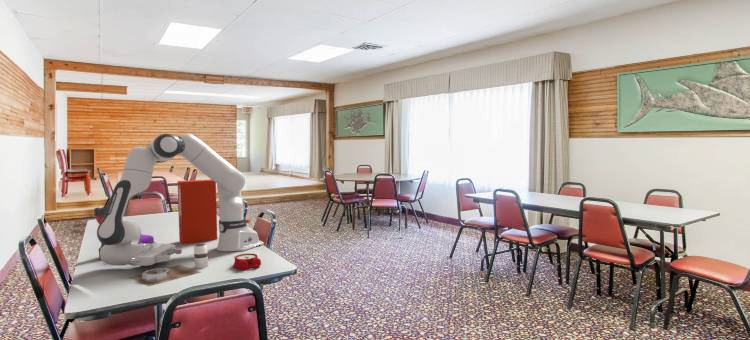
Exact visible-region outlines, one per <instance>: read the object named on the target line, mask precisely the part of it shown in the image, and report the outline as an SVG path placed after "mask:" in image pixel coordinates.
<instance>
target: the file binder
mask: <svg viewBox="0 0 750 340" xmlns="http://www.w3.org/2000/svg"><path fill="white" fill-rule="evenodd" d="M177 202H178V203H177V206H178V207H177V208H178V209H177V210H178V231H179V232H178V233H179V235H178V236H179V242H180V243H181V245H186V244H194V243H195V244H196V243H200V242H202V241H203V242H208V241H209V240H210V241H216V240H215V239H217V240H218V217H217V216H218V214H217V212H218V211H217V183H215V182H214V181H213V180H212V179H210V178H209V179H208V178H207V179H193V180H177Z"/></svg>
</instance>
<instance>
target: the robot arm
mask: <svg viewBox="0 0 750 340" xmlns="http://www.w3.org/2000/svg"><path fill="white" fill-rule="evenodd" d="M175 156H180V157H182V158H185V159H186V160H187V161H188V162H189V163H190V164H192V166H194V167H195V168H196V169H198V170H199V171H200V172H201V173H202V174H204V175H206V177H208V178H209V179H212V180H213V181H214V182H215V183H216V191H217V198H218V207H219V208H218V209H219V220H218V231H219V234H218V235H219V236H218V242H217V248H216V250H217V251H219V252H242V251H247V250H250V249H254V248H257V247H260V246H263V245H264V242H263V241H262V240H259V239H260V237H259V235H258V232H257V231H256V230H254V229H252V228H251V227H249V226H248V224H250V223H251V219H249V218H245V217H244V201H243V196H242V190H243V188H244V187H245V185H246V178H245V175H244V174H243V173H242V172H241V171H240V170H238V169H237V168H236V167H235V166H234V165H232V164H231V163H230V162H229V161H227V160H226V159H225V158H224V157H222V156H221V155H219V154H218V153H217V152H216V151H215V150H214V149H213V148H211V147H210V146H209V145H208V144H206V143H205V142H204V141H202V140H201V139H200V138H198V137H197V136H195V135H194V134H192V133H189V132H188V133H187V132H186V133H183V134H180V136H179V135H175V134H171V133H162V134H159V135H158V136H156V137H154V138H153V140H151V142H150V143H149V144H148V145H147V146H136V147H133V148H131V149H130V150H129V152H128V154H127V156H126V158H125V162H124V166H123V168H122V169H123V170H122V174H121V177H120V178H119V181H118V182H117V183H116V185H115V186H114V189H113V190H112V194H111V197H110V199H109V202H108V205H107V207H108V208H107V210H106V213H105V216H104V218H103V220H102V221H101V223H100V224H99V223H98V226H97V229H96V236H97V237H96V238H97V239H98V241H99V242H100V243H103V244H105V245H104V246H103V247H102V248H101V250H100V258H101V259H100V258H99V259H100V260H101V261H102V262H103V263H104V264H105V265H109V266H110V265H111V266H119V267H121V266H127V265H129V266H135V267H136V266H139V267H141V266H143V267H146V266H147V267H149V266H152V265H154V264H156V263H158V262H159V263H160V262H164V261H169V260H171V256H172V255H174V254H176V255H180V254H182V253H183V252H182V251H183V250H182V248H181V249H180V248H177V247H176V244H172V243H157V242H156V241H154V242H152V243H147V244H139V240H140V236H141V234H142V230H141V227H140V225H139V224H137V223H136V222H134V221H128V220H125V221H124V220H123V218H124V214H125V211H126V208H127V205H128V202H129V200H130V198H132V197H133V196H134V195H137V194H140V193H144V191H146V190H147V189H148V188H149V187H150V185H151V182H152V179H153V178H152V177H153V173H154V167H155V165H156V164H157V163H158V164H159V163H165V162H168V161H170V160H172V159H173V158H175ZM259 245H260V246H259ZM256 246H257V247H256Z"/></svg>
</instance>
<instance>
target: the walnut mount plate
mask: <svg viewBox="0 0 750 340" xmlns="http://www.w3.org/2000/svg"><path fill="white" fill-rule="evenodd" d="M166 268H167V269H170V277H169V278H168V279H165V280H161V281H157V282H146V281H143V280H142V273H140V274H135V275H131V276H128V277H127V278H129V279H131V280H133V281H135V282H138V283H141V284H143V285H145V286H147V287H151V286H155V285H160V284H163V283H166V282H170V281H173V280H178V279H182V278H186V277H189V276H193V275H197V274H200V273H202V271H199V270H196V269H193V268H190V267H187V266H184V265H181V264H178V265H174V266H173V265H172V266H168V267H166Z"/></svg>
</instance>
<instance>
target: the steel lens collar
mask: <svg viewBox="0 0 750 340" xmlns="http://www.w3.org/2000/svg"><path fill="white" fill-rule="evenodd" d="M167 268H168V267H156V268H152V269H148V270H145V271H144V272H142V273H141V274H142V280H143V281H146V282H157V281H161V280H165V279H168V278H169V277H170V269H167Z"/></svg>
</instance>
